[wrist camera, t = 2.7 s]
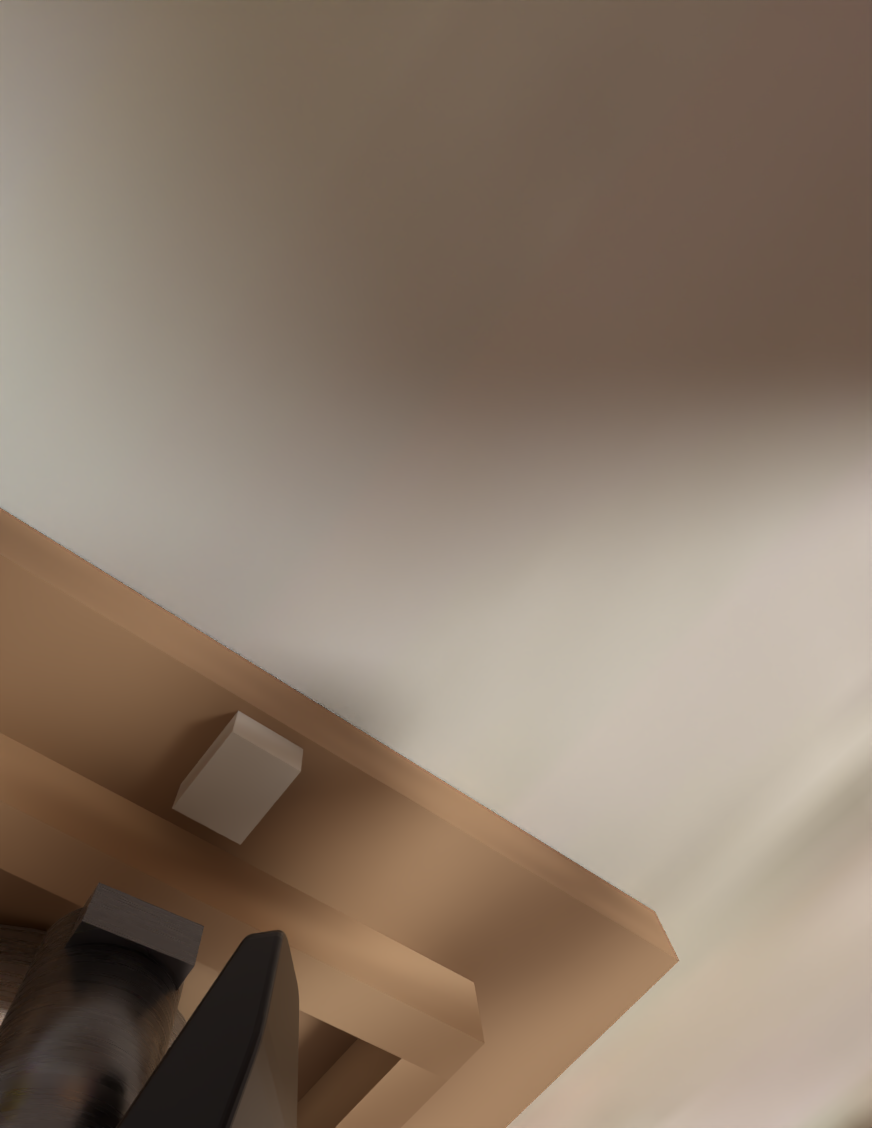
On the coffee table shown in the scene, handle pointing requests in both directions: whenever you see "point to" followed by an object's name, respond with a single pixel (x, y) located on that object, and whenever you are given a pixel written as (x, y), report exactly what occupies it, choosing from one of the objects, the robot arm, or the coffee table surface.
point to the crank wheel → (89, 1009)
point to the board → (297, 857)
